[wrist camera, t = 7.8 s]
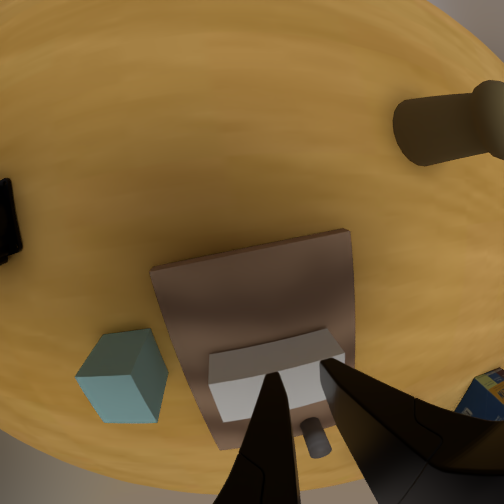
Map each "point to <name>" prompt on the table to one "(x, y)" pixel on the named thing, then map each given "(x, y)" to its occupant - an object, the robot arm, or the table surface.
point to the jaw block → (125, 377)
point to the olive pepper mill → (452, 125)
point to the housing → (267, 361)
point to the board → (259, 315)
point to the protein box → (485, 397)
